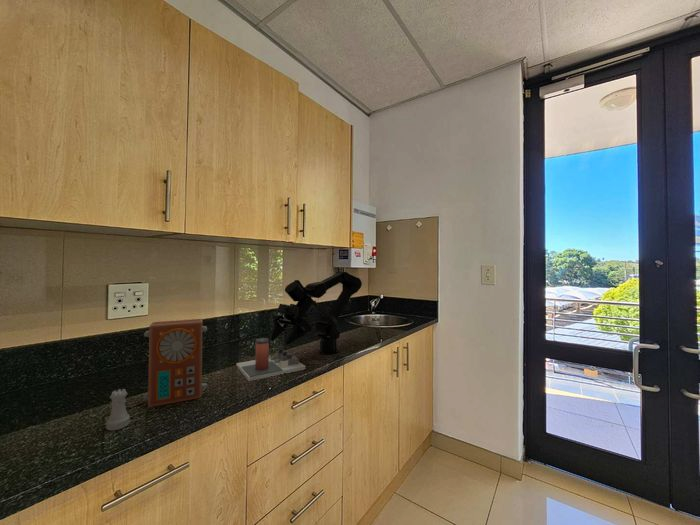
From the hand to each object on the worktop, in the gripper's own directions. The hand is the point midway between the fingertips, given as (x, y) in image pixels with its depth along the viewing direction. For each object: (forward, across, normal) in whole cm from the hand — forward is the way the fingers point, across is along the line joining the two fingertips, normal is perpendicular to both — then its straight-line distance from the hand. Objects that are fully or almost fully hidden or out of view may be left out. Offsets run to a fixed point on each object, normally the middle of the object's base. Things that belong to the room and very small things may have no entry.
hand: (278, 342), depth 106 cm
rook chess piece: (+40, +5, -28) cm, 49 cm away
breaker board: (+8, -2, +5) cm, 10 cm away
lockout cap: (+10, 0, 0) cm, 10 cm away
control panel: (+30, 0, -18) cm, 35 cm away
